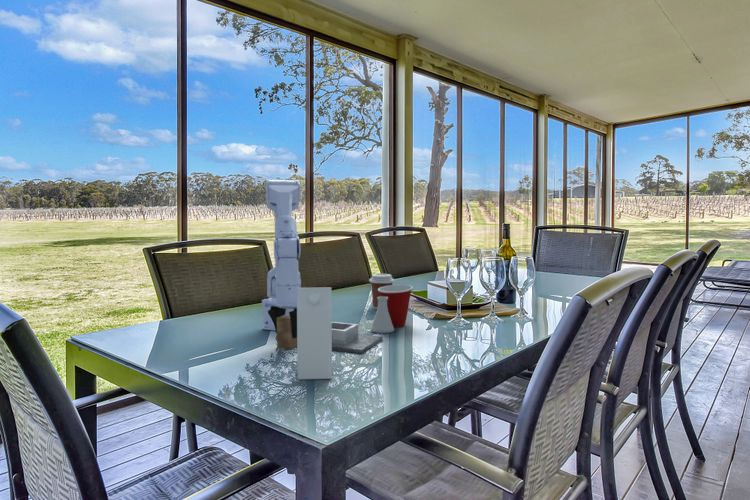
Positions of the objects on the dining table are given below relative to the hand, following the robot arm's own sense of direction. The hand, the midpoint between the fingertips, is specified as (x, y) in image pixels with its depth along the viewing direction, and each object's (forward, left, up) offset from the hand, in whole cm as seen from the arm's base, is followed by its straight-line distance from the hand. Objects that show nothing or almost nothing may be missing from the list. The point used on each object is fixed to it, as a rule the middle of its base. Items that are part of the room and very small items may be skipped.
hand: (287, 336), depth 130 cm
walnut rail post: (0, 0, -3) cm, 3 cm away
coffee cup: (+3, +58, -3) cm, 58 cm away
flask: (+16, +26, -3) cm, 31 cm away
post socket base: (+10, +9, -3) cm, 14 cm away
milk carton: (+17, -16, -3) cm, 24 cm away
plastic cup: (+17, +34, -3) cm, 38 cm away
